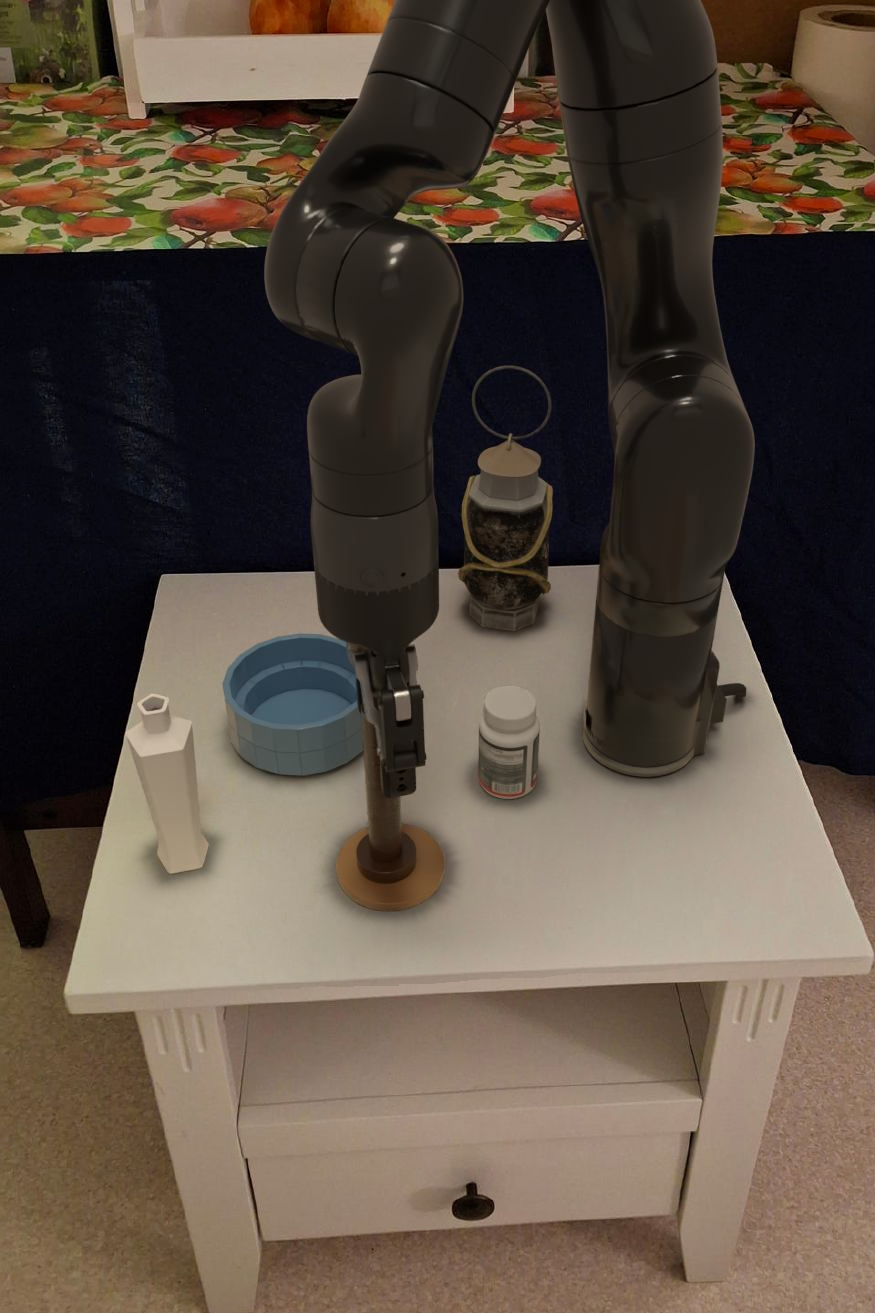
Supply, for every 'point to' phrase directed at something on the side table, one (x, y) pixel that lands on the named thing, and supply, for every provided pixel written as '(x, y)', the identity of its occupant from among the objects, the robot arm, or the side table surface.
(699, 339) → the robot arm
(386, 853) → the brown wooden peg
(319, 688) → the bowl
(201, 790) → the side table surface
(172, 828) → the perfume bottle
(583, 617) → the side table surface
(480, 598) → the lantern
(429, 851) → the coaster
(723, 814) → the side table surface
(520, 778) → the pill bottle
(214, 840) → the side table surface
